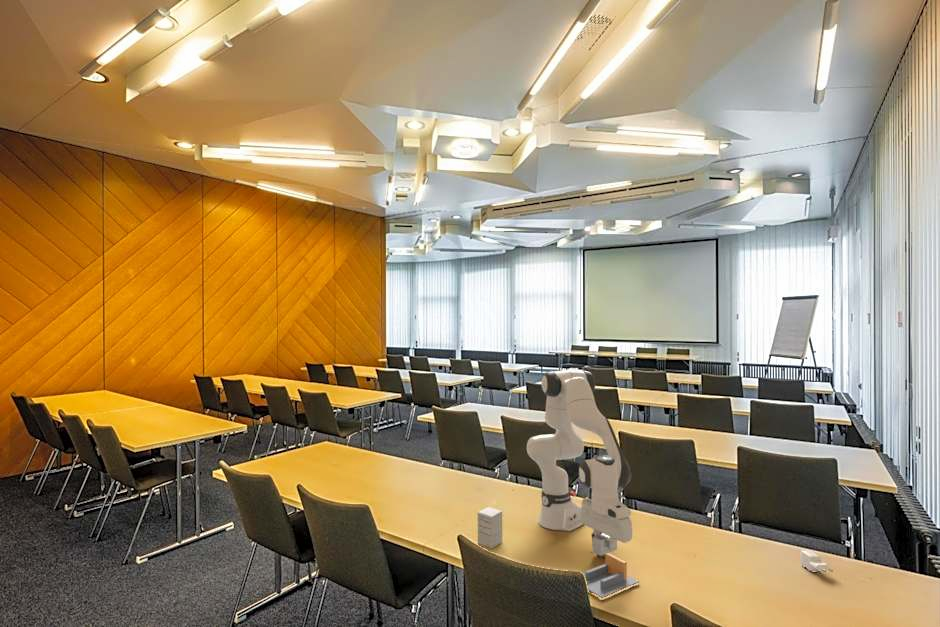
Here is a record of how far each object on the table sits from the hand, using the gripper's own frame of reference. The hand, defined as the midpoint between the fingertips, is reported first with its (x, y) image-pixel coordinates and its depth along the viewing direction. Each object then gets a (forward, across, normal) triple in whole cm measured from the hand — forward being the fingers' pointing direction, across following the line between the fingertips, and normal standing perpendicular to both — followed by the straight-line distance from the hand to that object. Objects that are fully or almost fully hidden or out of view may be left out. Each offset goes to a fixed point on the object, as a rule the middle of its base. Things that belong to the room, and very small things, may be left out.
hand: (605, 545), depth 171 cm
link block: (+2, 0, 0) cm, 2 cm away
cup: (+13, -14, +14) cm, 24 cm away
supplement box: (+12, -46, -15) cm, 50 cm away
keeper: (+13, 0, 0) cm, 13 cm away
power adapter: (+13, +35, +69) cm, 79 cm away
